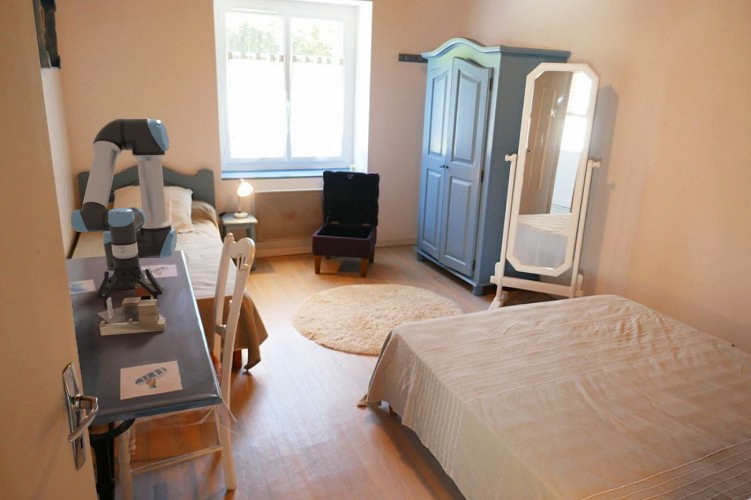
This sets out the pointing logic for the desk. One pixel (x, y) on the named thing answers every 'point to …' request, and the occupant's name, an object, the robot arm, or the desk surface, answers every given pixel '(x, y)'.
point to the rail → (145, 318)
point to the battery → (143, 292)
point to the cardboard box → (130, 308)
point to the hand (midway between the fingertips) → (132, 315)
